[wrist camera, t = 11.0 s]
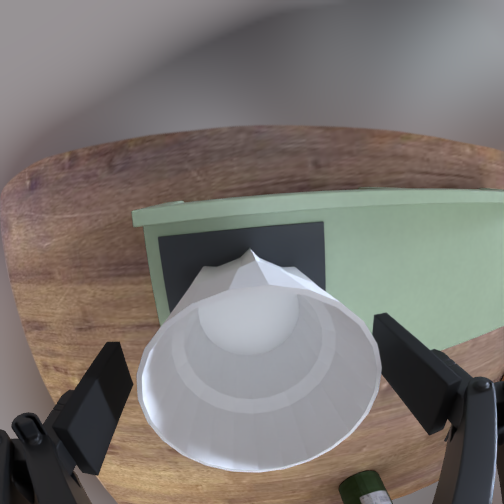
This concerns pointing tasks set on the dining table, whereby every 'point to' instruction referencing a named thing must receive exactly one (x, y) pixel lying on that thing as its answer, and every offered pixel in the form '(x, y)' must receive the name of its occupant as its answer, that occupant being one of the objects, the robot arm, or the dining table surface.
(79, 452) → the robot arm
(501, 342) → the dining table surface
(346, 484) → the wine bottle
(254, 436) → the cup
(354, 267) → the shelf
